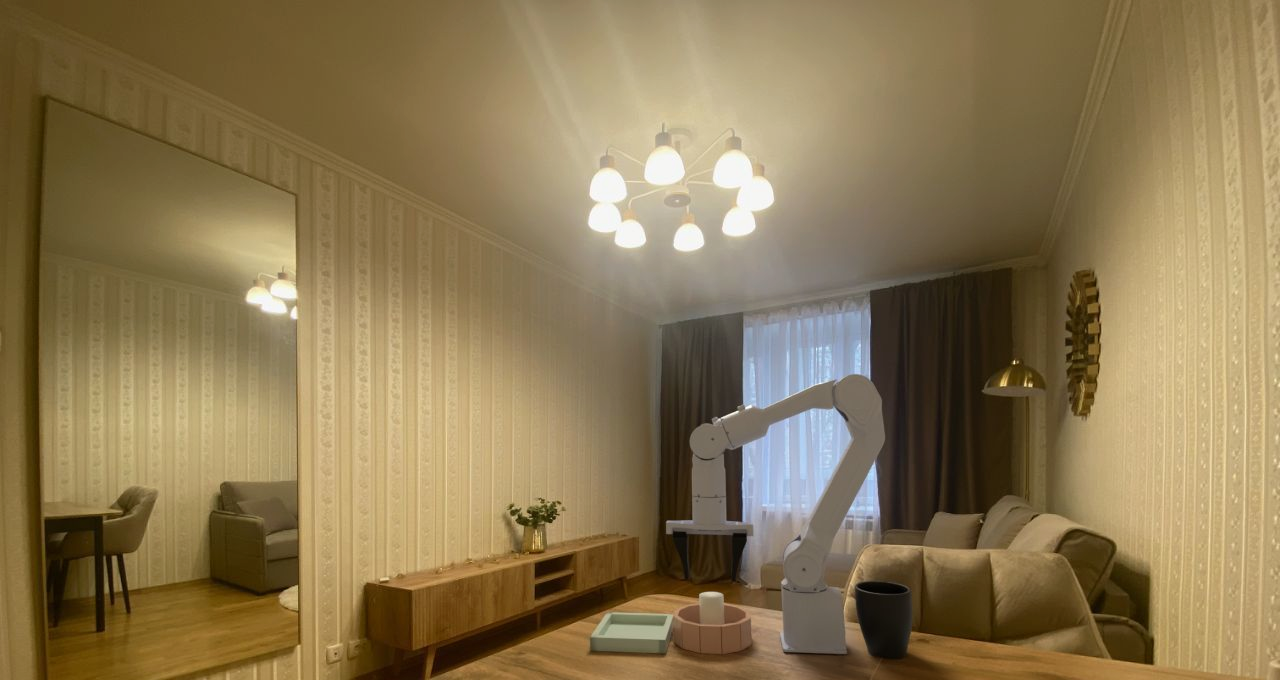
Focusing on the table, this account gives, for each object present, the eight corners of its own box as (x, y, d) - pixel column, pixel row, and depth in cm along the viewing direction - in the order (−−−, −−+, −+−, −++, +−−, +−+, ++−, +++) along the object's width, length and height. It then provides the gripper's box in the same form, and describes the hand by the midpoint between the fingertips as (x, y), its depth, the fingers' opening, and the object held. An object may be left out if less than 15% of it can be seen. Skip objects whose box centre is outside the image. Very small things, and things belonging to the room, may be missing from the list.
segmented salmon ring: (750, 628, 105) (749, 603, 105) (752, 655, 92) (751, 627, 93) (678, 625, 107) (677, 601, 107) (670, 652, 94) (669, 624, 95)
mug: (904, 636, 99) (899, 575, 101) (922, 664, 88) (916, 595, 89) (852, 633, 101) (848, 574, 103) (862, 660, 90) (858, 593, 91)
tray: (674, 626, 106) (673, 614, 107) (665, 653, 94) (665, 639, 94) (607, 623, 108) (607, 612, 109) (590, 650, 96) (590, 637, 96)
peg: (725, 635, 101) (723, 592, 102) (724, 644, 97) (723, 598, 98) (701, 635, 102) (699, 591, 103) (699, 643, 98) (698, 598, 99)
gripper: (751, 493, 106) (753, 574, 104) (668, 492, 108) (669, 572, 106) (753, 498, 99) (755, 585, 97) (664, 497, 101) (665, 582, 99)
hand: (710, 579), depth 101 cm, fingers open, 7 cm apart
